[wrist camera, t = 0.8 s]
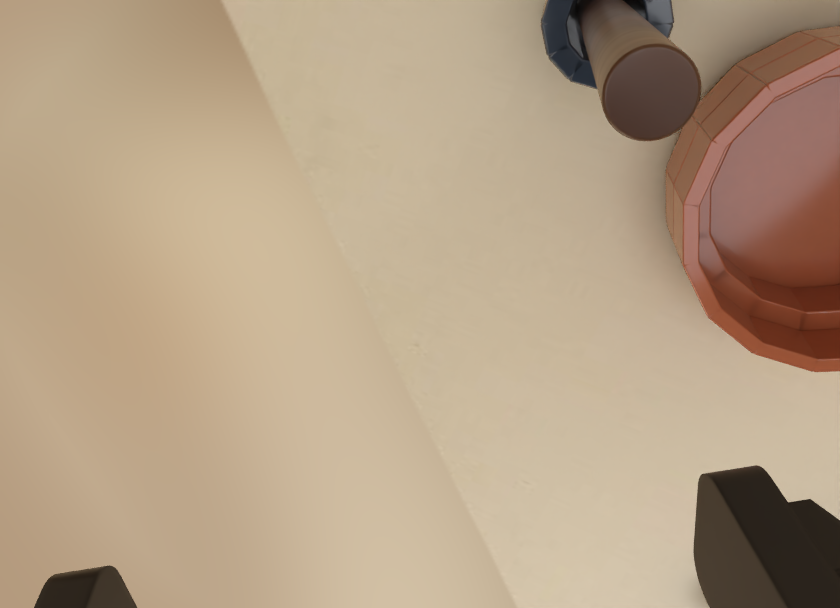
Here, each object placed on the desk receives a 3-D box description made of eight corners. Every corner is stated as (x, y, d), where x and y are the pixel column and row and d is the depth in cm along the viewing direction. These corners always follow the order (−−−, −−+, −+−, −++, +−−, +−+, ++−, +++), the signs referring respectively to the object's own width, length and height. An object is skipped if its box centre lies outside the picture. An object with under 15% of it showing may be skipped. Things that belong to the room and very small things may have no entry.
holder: (564, -61, 29) (566, -63, 23) (664, -33, 29) (694, -27, 22) (532, 43, 31) (526, 69, 24) (625, 70, 31) (643, 103, 24)
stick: (584, -20, 29) (621, 32, 12) (623, -9, 29) (718, 59, 12) (570, 23, 30) (588, 127, 13) (609, 34, 30) (677, 153, 13)
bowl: (738, -15, 29) (775, -7, 24) (1051, 74, 28) (1155, 101, 23) (621, 264, 34) (632, 317, 29) (881, 342, 34) (936, 409, 29)
